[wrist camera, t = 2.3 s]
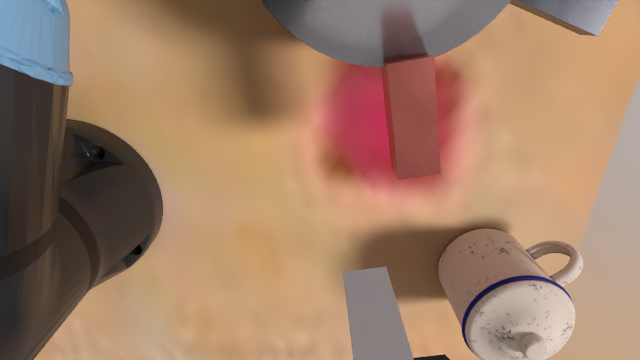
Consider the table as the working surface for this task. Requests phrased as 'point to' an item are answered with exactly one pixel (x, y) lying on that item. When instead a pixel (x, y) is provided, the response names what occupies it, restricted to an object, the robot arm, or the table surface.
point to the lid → (393, 57)
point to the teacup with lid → (508, 295)
